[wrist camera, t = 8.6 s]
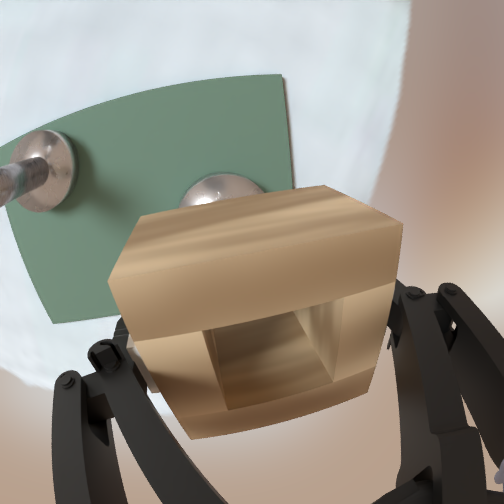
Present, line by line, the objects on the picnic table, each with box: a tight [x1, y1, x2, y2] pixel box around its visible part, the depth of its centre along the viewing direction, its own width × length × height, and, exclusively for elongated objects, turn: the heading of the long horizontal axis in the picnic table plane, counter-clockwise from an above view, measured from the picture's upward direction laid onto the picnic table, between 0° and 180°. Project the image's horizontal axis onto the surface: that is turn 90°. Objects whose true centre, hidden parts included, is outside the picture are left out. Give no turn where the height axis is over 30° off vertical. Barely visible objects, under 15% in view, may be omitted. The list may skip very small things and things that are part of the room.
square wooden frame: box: [107, 185, 403, 440], centre depth 12 cm, size 9×9×6 cm
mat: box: [0, 74, 293, 324], centre depth 22 cm, size 20×28×1 cm
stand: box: [0, 130, 80, 213], centre depth 14 cm, size 7×7×10 cm
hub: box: [178, 172, 264, 208], centre depth 20 cm, size 8×8×8 cm
